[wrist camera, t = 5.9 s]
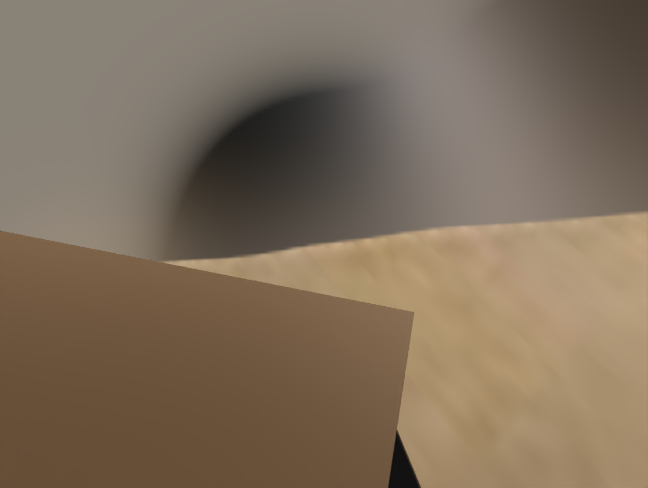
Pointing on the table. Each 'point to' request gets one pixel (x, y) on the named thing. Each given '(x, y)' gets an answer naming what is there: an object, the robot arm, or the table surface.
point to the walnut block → (188, 377)
